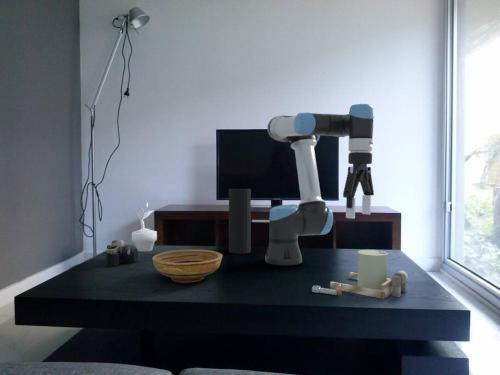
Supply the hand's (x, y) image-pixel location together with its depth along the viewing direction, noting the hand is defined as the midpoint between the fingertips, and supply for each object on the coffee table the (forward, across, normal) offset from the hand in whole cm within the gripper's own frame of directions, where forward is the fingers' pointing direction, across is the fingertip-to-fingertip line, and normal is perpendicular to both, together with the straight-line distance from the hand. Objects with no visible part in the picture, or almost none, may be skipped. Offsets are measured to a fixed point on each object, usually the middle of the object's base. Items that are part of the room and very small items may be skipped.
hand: (358, 216), depth 124 cm
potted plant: (+25, -13, +98) cm, 102 cm away
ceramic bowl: (+23, -32, +48) cm, 62 cm away
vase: (+25, +13, +62) cm, 68 cm away
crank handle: (+22, -17, +2) cm, 28 cm away
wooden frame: (+22, -4, -5) cm, 23 cm away
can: (+22, -4, -7) cm, 24 cm away
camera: (+24, -33, +85) cm, 95 cm away
